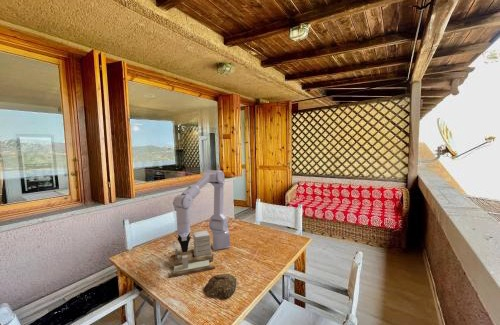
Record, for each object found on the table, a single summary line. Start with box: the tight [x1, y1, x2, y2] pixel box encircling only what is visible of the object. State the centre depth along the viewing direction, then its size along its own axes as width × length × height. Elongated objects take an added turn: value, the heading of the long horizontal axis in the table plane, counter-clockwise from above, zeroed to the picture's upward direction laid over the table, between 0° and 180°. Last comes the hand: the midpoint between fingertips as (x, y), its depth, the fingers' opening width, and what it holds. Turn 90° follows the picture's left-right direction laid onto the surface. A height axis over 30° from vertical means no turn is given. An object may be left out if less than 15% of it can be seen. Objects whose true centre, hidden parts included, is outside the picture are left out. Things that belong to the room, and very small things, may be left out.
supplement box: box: [192, 229, 211, 257], centre depth 112 cm, size 7×7×13 cm
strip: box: [173, 255, 211, 273], centre depth 102 cm, size 16×5×6 cm, turn 108°
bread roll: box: [203, 273, 237, 300], centre depth 87 cm, size 13×12×5 cm
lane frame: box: [168, 254, 216, 278], centre depth 107 cm, size 20×20×1 cm
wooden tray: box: [174, 245, 214, 265], centre depth 111 cm, size 18×10×5 cm, turn 108°
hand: (184, 250), depth 100 cm, fingers open, 3 cm apart
